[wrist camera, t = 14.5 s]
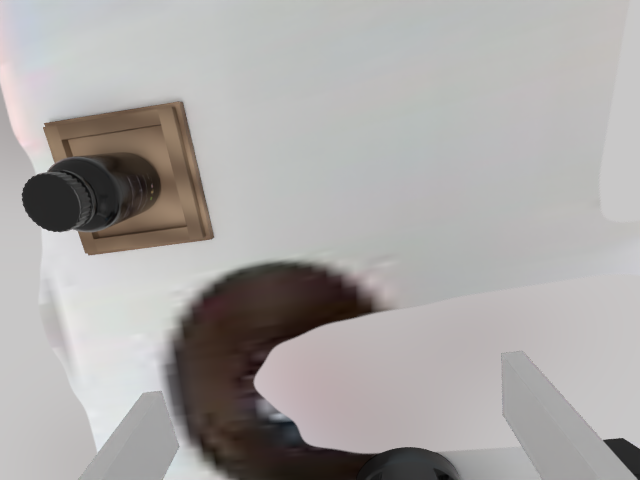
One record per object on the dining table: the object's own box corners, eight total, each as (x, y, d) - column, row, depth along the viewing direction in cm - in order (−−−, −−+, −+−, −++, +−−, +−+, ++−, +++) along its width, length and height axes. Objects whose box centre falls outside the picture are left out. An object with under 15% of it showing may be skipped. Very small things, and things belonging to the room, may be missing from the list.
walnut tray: (213, 237, 42) (208, 241, 40) (93, 252, 43) (82, 258, 41) (182, 102, 38) (174, 100, 36) (51, 123, 39) (36, 122, 37)
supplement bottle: (101, 208, 41) (9, 236, 29) (101, 146, 39) (2, 150, 27) (161, 218, 41) (93, 250, 29) (164, 157, 39) (92, 166, 27)
